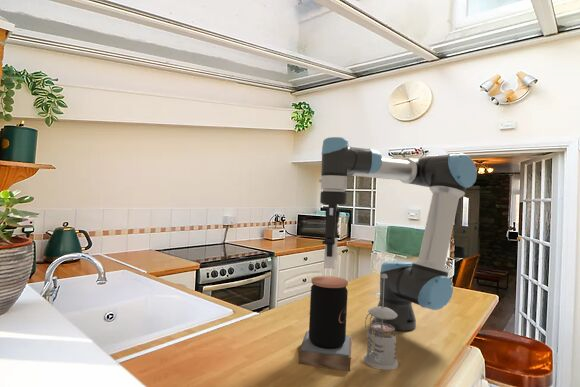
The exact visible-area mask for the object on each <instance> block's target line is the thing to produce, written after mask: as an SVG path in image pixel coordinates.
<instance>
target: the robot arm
mask: <svg viewBox="0 0 580 387" xmlns="http://www.w3.org/2000/svg"><path fill="white" fill-rule="evenodd" d="M320 173H321V176H320V179H319V180H318V182H319V183H320V189H321V190H322V191H321V192H320V198H319V201H320V204H321V205H328V207H326V210H325V213H324V214H325V232H324V233H325V234H324V240H322V242H321V243H322V245H324V260H323V262H324V264H323V265H324V266H323V267H324V269H332V270H334V269H335V261H337V260H338V239H340V238H341V235H340V234H339V230H338V229H339V227H338V226H339V225H338V224H339V221H340V215H341V213H340V212H341V210H339V207H338V206H343V205H346V204H347V192H345V191H347V189H348V176H352V177H353V176H354V177H364V178H375V179H383V180H394V181H395V180H396V181H400V182H401V183H403V184H408V185H409V184H410V185H414V186H421V187H426V188H429V190H430V192H431V193H432V196H431V200H430V201H431V202H430V205H429V209H428V214H427V218H426V223H425V226H424V233H423V236H422V241H421V245H420V251H419V254H418V258H417V259H416V260H415V261H398V260H397V261H395V260H394V261H385V262H383V263H382V264H381V266H380V272H379V274H380V275H379V276H380V277H379V278H380V279H379V300H378V302H377V306H376V307H379V306H381V307H387V308H389V309H391V310H393V311H394V312H395V313H397V315H398V316H397V317H396V318H395V319H383V323H386V324H389V325H392V326H393V327H394V328H395V331H411V330H414V329H415V328H416V327H417V318H416V316H415V315H416V314H415V311H414V308H413V304H415V305H417V306H420V307H422V308H424V309H428V310H432V311H438V310H441V309H443V308H444V307H445V306H447V305H448V303H449V302H450V301H451V299H452V296H453V294H454V286H453V282H452V280H451V279H450V278H449V277H448V276H449V270H448V269H447V268H446V262H447V256H448V253H449V247H450V244H451V243H450V242H451V237H452V233H453V227H454V224H455V219H456V214H457V211H458V210H457V209H458V205H459V199H461V198H462V197H464V196H465V195H466V190H467V188H470V187H472V186H474V184H475V183H476V181H477V175H478V173H477V167H476V164H475V163H474V160H473V159H472V157H470V156H468V155H467V154H465V153H451V154H444V155H443V154H442V155H434V156H426V157H419V158H409V157H407V158H404V159H397V158H396V159H395V158H394V159H393V158H387V157H383V156H382V154H381V152H380V151H378V150H377V149H372V148H364V147H363V148H362V147H355V146H354V147H353V146H350V145H349V140H348V138H345V137H339V136H335V137H334V136H332V137H331V136H330V137H327V138H325V139H323V141H322V146H321V172H320ZM382 274H387V276H388V278H385V280H384V278H381V275H382ZM383 284H384V304H383ZM412 303H413V304H412ZM373 321H374V322H379V323H382V319H380V318H374V317H373Z"/></svg>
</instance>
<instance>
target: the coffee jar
mask: <svg viewBox="0 0 580 387" xmlns="http://www.w3.org/2000/svg"><path fill="white" fill-rule="evenodd" d="M311 283H312V285H311V287H310V301H309V302H310V303H309V306H310V307H309V323H308V324H309V325H308V326H309V327H308V331H309V339H310V340H311V342H312V344H313V345H315V346H317V347H320V348H324V349H336V348H339V347H341V346H342V345H343V344H344V342H345V339H346V333H347V316H348V312H347V311H348V295H349V294H348V293H349V292H348V289H347V287H348V284H349V282H348V280H347V279H345V278H343V277H338V276H333V275H317V276H313V277H312V278H311Z"/></svg>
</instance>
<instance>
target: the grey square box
mask: <svg viewBox="0 0 580 387" xmlns="http://www.w3.org/2000/svg"><path fill="white" fill-rule="evenodd" d="M302 339H303V340H302V342H301V345H300V348H299V350H298V365H305V366H312V367H319V368H326V369H333V370H340V371H348V372H350V371H351V363H352V362H351V361H352V360H351V359H352V357H351V356H352V355H351V354H352V336H350V335H346V339H345V342H344V344H343V345H342V346H341V347H339V348H336V349H324V348H320V347H317V346H315V345H313V344H312V342H311V340H310V339H309V330H307V331H306V332H305V334H304V336H303V338H302Z"/></svg>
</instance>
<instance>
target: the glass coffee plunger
mask: <svg viewBox="0 0 580 387" xmlns="http://www.w3.org/2000/svg"><path fill="white" fill-rule="evenodd" d="M381 278H384V280H385V278H388V276H387V274H382V275H381ZM383 304H384V284H383ZM369 315H370V318H369V324H368V327H369V329H368V328H367V319H368V317H369ZM397 316H398V315H397V313H395V312H394V311H393V310H391V309H389V308H387V307H381V306H379V307H377V306H374V307H372V308H370V309H369V310H368V314H367V315H366V317H365V322H364V323H365V324H364V326H365V327H364V328H365V331H366V332H365V333H366V335H367V348H366V349H367V350H366V354H365V355H364V356H363V358H362V359H363V361H364V363H365V364H366V365H368V366H370V367H372V368H375V369H378V370H384V371H387V370H388V371H389V370H395V369H397V368H398V367H399V362H398V360H397V359H396V346H397V345H396V343H397V333H396V332H395V331H396V330H395V328H394V327H393V326H392V325H389V324H386V323H383V319H395V318H396V317H397ZM374 318H380V319H382V323H379V322H375V321H374V322H372V321H371V320H372V319H374ZM373 333H374V334H373Z"/></svg>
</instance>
